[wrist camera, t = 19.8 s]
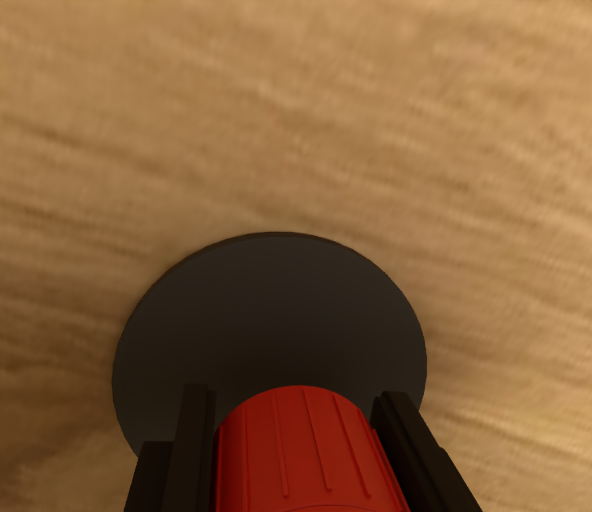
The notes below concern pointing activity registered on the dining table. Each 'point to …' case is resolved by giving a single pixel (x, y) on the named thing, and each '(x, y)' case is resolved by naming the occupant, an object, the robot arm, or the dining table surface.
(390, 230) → the dining table surface
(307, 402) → the cap
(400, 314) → the coaster
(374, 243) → the dining table surface
